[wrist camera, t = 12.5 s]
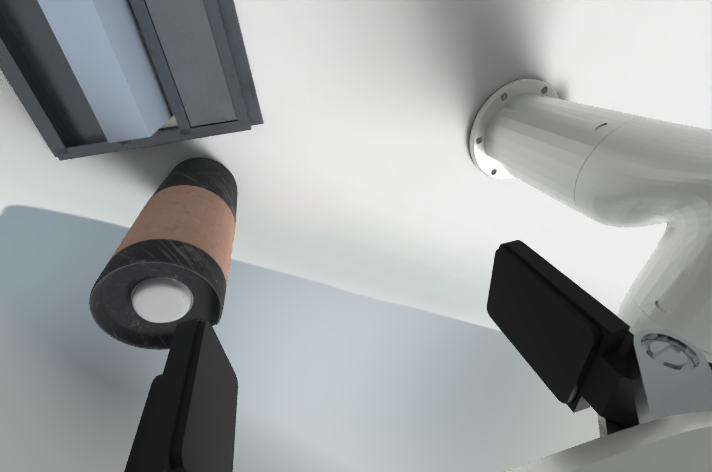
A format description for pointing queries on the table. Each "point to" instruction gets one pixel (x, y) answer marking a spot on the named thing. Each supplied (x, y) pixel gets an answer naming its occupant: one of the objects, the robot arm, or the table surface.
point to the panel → (110, 65)
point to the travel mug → (171, 259)
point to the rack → (170, 59)
